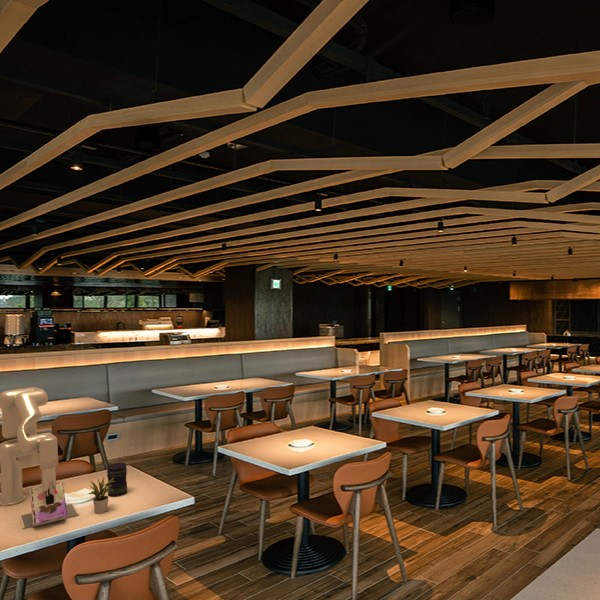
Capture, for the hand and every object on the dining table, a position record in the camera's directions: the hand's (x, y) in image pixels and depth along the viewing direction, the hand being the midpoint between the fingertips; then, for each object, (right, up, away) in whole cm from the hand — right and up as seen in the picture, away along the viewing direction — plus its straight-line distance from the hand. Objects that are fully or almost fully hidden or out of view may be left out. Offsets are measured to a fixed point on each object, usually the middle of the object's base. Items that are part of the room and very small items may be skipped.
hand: (50, 503), depth 230 cm
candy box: (0, -9, 0) cm, 9 cm away
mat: (-5, -10, +10) cm, 15 cm away
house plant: (+19, -10, +14) cm, 25 cm away
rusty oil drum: (+18, -10, +37) cm, 42 cm away
